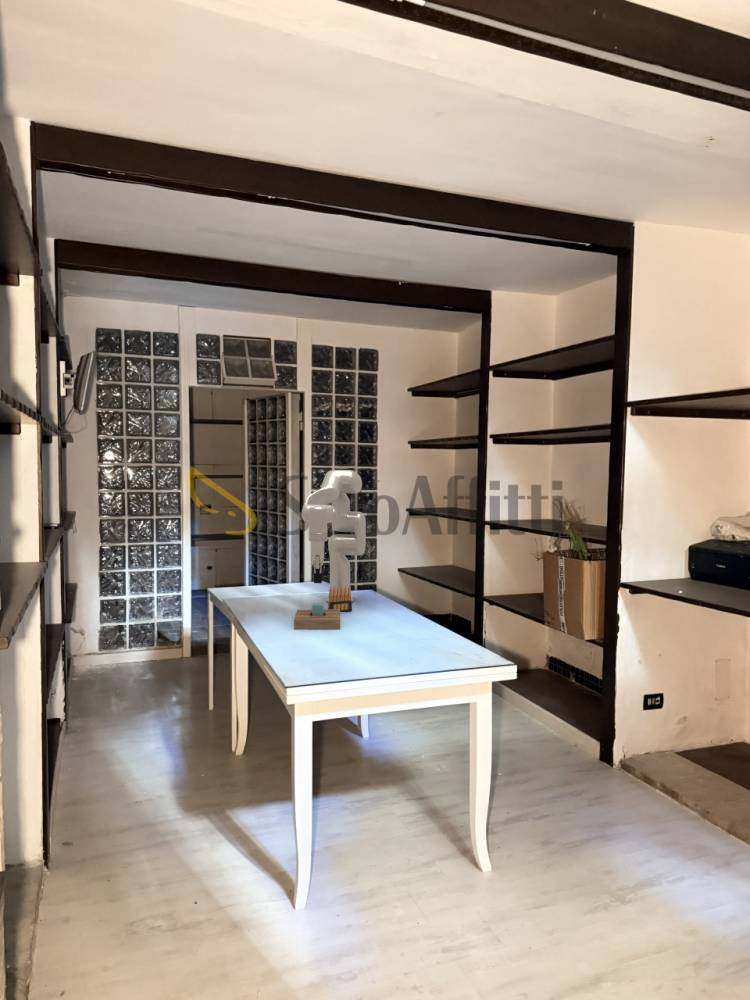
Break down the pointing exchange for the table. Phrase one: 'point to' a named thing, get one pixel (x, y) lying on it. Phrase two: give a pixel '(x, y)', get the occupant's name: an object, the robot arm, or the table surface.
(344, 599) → the ammunition clip
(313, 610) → the peg
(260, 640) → the table surface
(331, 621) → the socket block
